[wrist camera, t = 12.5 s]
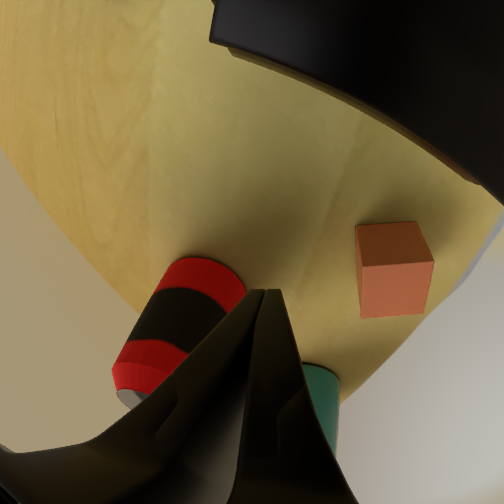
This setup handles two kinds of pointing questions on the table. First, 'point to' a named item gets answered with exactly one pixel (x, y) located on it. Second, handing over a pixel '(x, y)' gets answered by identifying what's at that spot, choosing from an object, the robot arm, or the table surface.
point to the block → (392, 269)
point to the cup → (325, 400)
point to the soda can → (174, 324)
